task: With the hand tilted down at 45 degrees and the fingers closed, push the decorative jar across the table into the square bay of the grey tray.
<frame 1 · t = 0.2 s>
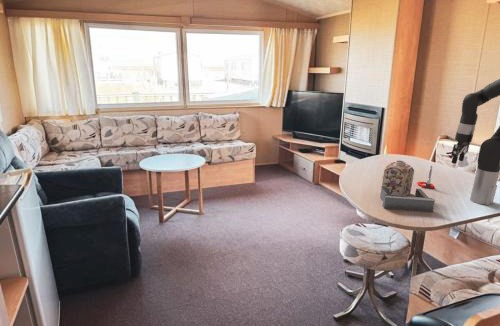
hand: (457, 162, 176), 18 cm above the table, tool pointing down, fingers open, 8 cm apart
decorative jar: (395, 193, 179), on the table
tow hook: (425, 185, 192), on the table
grey tray: (406, 207, 161), on the table
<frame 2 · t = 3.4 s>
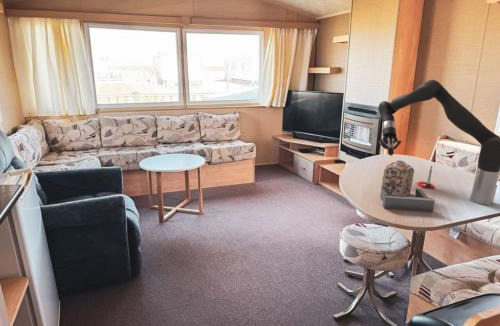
hand: (391, 154, 192), 16 cm above the table, tool tilted 45°, fingers closed
nothing on the table moved.
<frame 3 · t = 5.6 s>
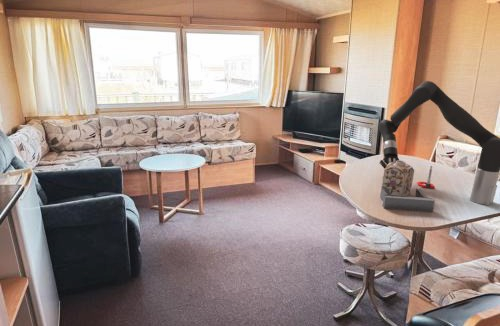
hand: (392, 176, 185), 7 cm above the table, tool tilted 45°, fingers closed
decorative jar: (395, 193, 179), on the table, touching gripper
everything else where it was.
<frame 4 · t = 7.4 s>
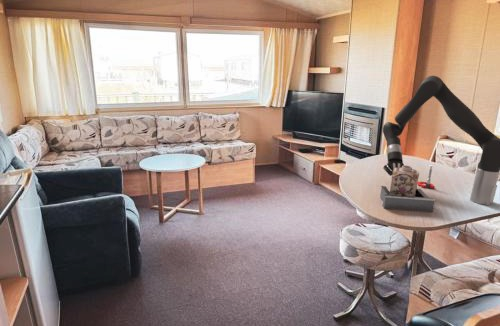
hand: (396, 182, 176), 7 cm above the table, tool tilted 45°, fingers closed
decorative jar: (401, 200, 170), on the table
everything else where it was.
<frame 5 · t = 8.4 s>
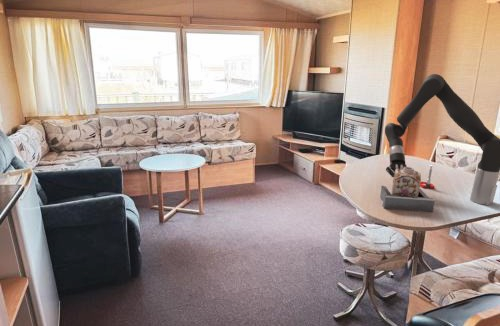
hand: (399, 184, 173), 7 cm above the table, tool tilted 45°, fingers closed
decorative jar: (402, 202, 168), on the table, touching gripper
everything else where it was.
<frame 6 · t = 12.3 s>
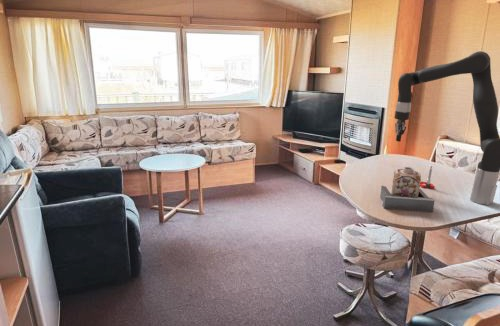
hand: (398, 141, 188), 25 cm above the table, tool pointing down, fingers closed
decorative jar: (402, 202, 168), on the table
everything else where it was.
at the end: decorative jar inside the target area on the grey tray (1.0 cm from its centre), point 0.0 cm above the grey tray's base; decorative jar tilted 0°; decorative jar moved 11.8 cm from its start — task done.
